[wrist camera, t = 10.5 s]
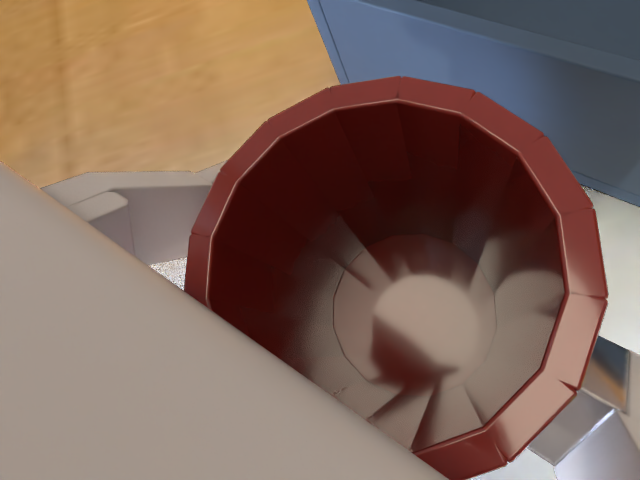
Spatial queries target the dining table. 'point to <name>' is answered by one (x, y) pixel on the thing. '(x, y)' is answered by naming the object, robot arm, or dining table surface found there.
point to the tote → (513, 67)
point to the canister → (411, 264)
